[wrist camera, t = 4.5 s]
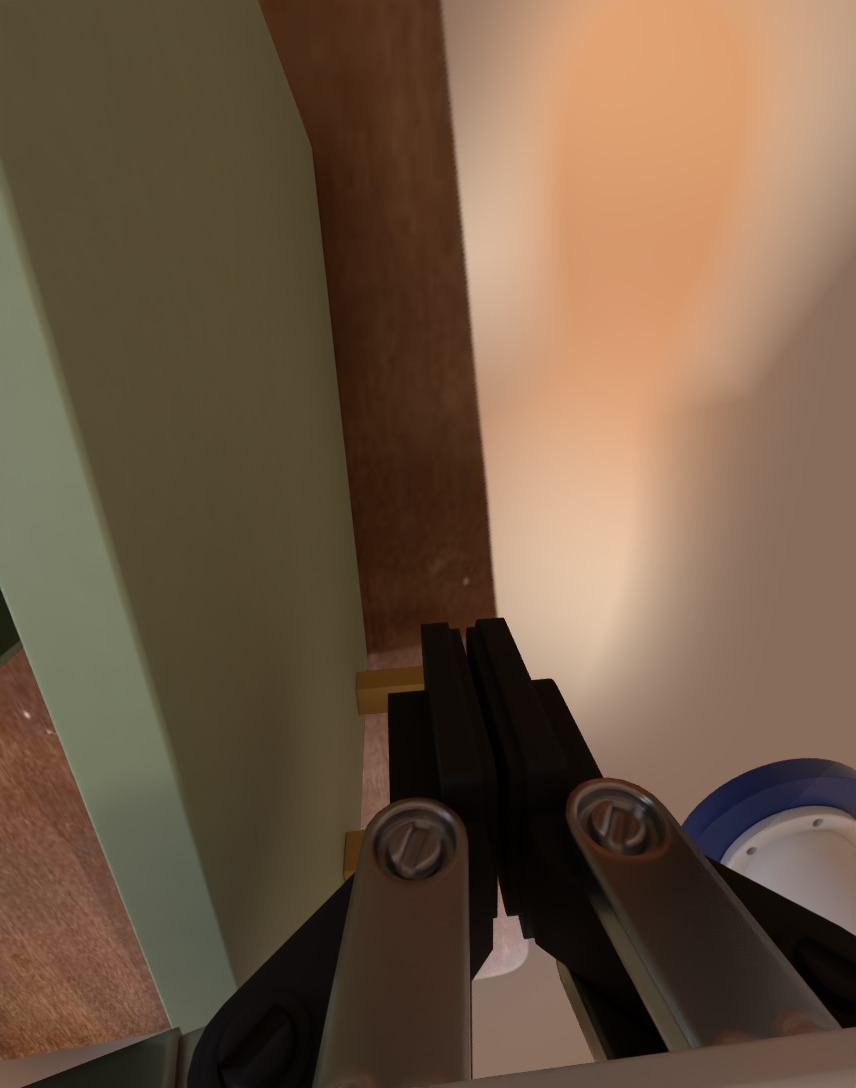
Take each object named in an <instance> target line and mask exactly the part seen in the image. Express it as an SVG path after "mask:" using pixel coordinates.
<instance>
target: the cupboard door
mask: <svg viewBox="0 0 856 1088" xmlns="http://www.w3.org/2000/svg"><path fill="white" fill-rule="evenodd" d="M0 588H1V591H2V593H3V596H4V599H5V601H6V604H7V606H8V609H9V611H10V614H11V616H12V619H13V622H14V624H15V627H16V629H17V632H18V634H19V637H20V640H21V642H22V645H23V647H24V650H25V652H26V655H27V658H28V660H29V663H30V665H31V668H32V670H33V673H34V676H35V678H36V681H37V683H38V686H39V688H40V691H41V693H42V696H43V699H44V701H45V704H46V706H47V709H48V711H49V714H50V717H51V719H52V722H53V724H54V727H55V729H56V732H57V735H58V737H59V740H60V742H61V745H62V747H63V750H64V753H65V755H66V758H67V760H68V763H69V765H70V768H71V770H72V773H73V776H74V778H75V781H76V783H77V786H78V788H79V791H80V794H81V796H82V799H83V801H84V804H85V806H86V809H87V812H88V814H89V817H90V819H91V822H92V824H93V827H94V830H95V832H96V835H97V837H98V840H99V842H100V845H101V847H102V850H103V853H104V855H105V858H106V860H107V863H108V865H109V868H110V871H111V873H112V876H113V878H114V881H115V883H116V886H117V889H118V891H119V894H120V896H121V899H122V901H123V904H124V907H125V909H126V912H127V914H128V917H129V919H130V922H131V924H132V927H133V930H134V932H135V935H136V937H137V940H138V942H139V945H140V948H141V950H142V953H143V955H144V958H145V960H146V963H147V966H148V968H149V971H150V973H151V976H152V978H153V981H154V983H155V986H156V989H157V991H158V994H159V996H160V999H161V1001H162V1004H163V1007H164V1009H165V1012H166V1014H167V1017H168V1019H169V1022H170V1025H171V1027H172V1029H174V1028H176V1027H180V1030H181V1032H182V1035H183V1034H186V1033H189V1032H191V1031H194V1030H196V1029H199V1028H201V1027H204V1026H206V1025H207V1024H208V1023H209V1022H210V1020H211V1019H212V1018H213V1017H214V1015H215V1014H216V1013H217V1012H218V1010H219V1009H220V1008H221V1007H222V1005H223V1004H224V1003H225V1002H226V1001H227V1000H228V999H229V998H230V997H231V996H232V995H233V994H234V993H235V992H236V991H237V990H238V989H239V988H240V987H241V986H242V985H243V984H244V983H245V982H246V981H247V980H248V979H249V978H250V977H251V976H252V975H253V974H254V973H255V972H256V971H257V970H258V969H259V968H260V967H261V966H262V965H263V964H264V963H265V962H266V961H267V960H268V959H269V958H270V957H271V956H272V955H273V954H274V953H275V952H276V951H277V950H278V949H279V948H280V947H281V946H282V945H283V944H284V943H285V942H286V941H287V940H288V939H289V938H290V937H291V936H292V935H293V934H294V933H295V932H296V931H297V930H298V929H299V928H300V927H301V926H302V925H303V924H304V923H305V922H306V921H307V920H308V919H309V918H310V917H311V916H312V915H313V914H314V913H315V912H316V911H317V910H318V909H319V908H320V907H321V906H322V905H323V904H324V903H325V902H326V901H327V900H328V899H329V898H330V897H331V896H332V895H333V894H334V893H335V892H336V891H337V890H338V889H339V888H340V887H341V886H342V885H343V884H344V883H345V882H346V880H347V879H348V878H349V877H350V876H351V875H352V874H353V873H354V872H355V871H356V867H357V862H358V857H359V852H360V847H361V842H362V838H363V836H364V833H365V830H360V827H361V802H362V778H363V753H364V729H365V715H366V714H377V713H387V712H388V693H397V692H408V691H419V690H424V674H423V666H419V667H408V668H397V669H386V670H375V671H367V647H366V638H365V629H364V620H363V611H362V602H361V593H360V583H359V574H358V565H357V556H356V547H355V538H354V528H353V519H352V510H351V501H350V492H349V483H348V474H347V464H346V455H345V446H344V437H343V428H342V419H341V410H340V400H339V391H338V382H337V373H336V364H335V355H334V345H333V336H332V327H331V318H330V309H329V300H328V291H327V281H326V272H325V263H324V254H323V245H322V236H321V226H320V217H319V208H318V199H317V190H316V181H315V172H314V162H313V153H312V147H311V144H310V141H309V139H308V136H307V133H306V130H305V128H304V125H303V122H302V119H301V117H300V114H299V111H298V108H297V106H296V103H295V100H294V98H293V95H292V92H291V89H290V87H289V84H288V81H287V78H286V76H285V73H284V70H283V67H282V65H281V62H280V59H279V56H278V54H277V51H276V48H275V45H274V43H273V40H272V37H271V34H270V32H269V29H268V26H267V23H266V21H265V18H264V15H263V12H262V10H261V7H260V4H259V2H258V0H0ZM498 886H500V885H499V880H498Z"/></svg>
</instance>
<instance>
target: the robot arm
mask: <svg viewBox="0 0 856 1088" xmlns="http://www.w3.org/2000/svg"><path fill="white" fill-rule="evenodd" d="M421 640H422V657H423V674H424V690H419V691H408V692H397V693H388V735H389V781H390V804H389V805H388V806H386V807H385V808H383V809H382V810H381V811H379V812H378V813H377V814H376V815H375V816H374V818H373V819H372V820H371V821H370V823H369V824H368V825H367V828H366V830H365V833H364V836H363V838H362V842H361V847H360V852H359V857H358V862H357V867H356V871H355V872H354V873H353V874H352V875H351V876H350V877H349V878H348V879H347V880H346V882H345V883H344V884H343V885H342V886H341V887H340V888H339V889H338V890H337V891H336V892H335V893H334V894H333V895H332V896H331V897H330V898H329V899H328V900H327V901H326V902H325V903H324V904H323V905H322V906H321V907H320V908H319V909H318V910H317V911H316V912H315V913H314V914H313V915H312V916H311V917H310V918H309V919H308V920H307V921H306V922H305V923H304V924H303V925H302V926H301V927H300V928H299V929H298V930H297V931H296V932H295V933H294V934H293V935H292V936H291V937H290V938H289V939H288V940H287V941H286V942H285V943H284V944H283V945H282V946H281V947H280V948H279V949H278V950H277V951H276V952H275V953H274V954H273V955H272V956H271V957H270V958H269V959H268V960H267V961H266V962H265V963H264V964H263V965H262V966H261V967H260V968H259V969H258V970H257V971H256V972H255V973H254V974H253V975H252V976H251V977H250V978H249V979H248V980H247V981H246V982H245V983H244V984H243V985H242V986H241V987H240V988H239V989H238V990H237V991H236V992H235V993H234V994H233V995H232V996H231V997H230V998H229V999H228V1000H227V1001H226V1002H225V1003H224V1004H223V1005H222V1007H221V1008H220V1009H219V1010H218V1012H217V1013H216V1014H215V1015H214V1017H213V1018H212V1019H211V1020H210V1022H209V1023H208V1024H207V1025H206V1026H204V1027H201V1028H199V1029H196V1030H194V1031H191V1032H189V1033H186V1034H183V1035H182V1032H181V1030H180V1027H176V1028H174V1029H171V1030H169V1031H166V1032H163V1033H161V1034H158V1035H156V1036H153V1037H151V1038H148V1039H145V1040H143V1041H140V1042H138V1043H135V1044H133V1045H130V1046H128V1047H125V1048H122V1049H120V1050H117V1051H115V1052H112V1053H109V1054H107V1055H104V1056H102V1057H99V1058H97V1059H94V1060H91V1061H89V1062H86V1063H84V1064H81V1065H78V1066H76V1067H73V1068H71V1069H69V1070H66V1071H63V1072H60V1073H58V1074H55V1075H53V1076H50V1077H48V1078H45V1079H43V1080H40V1081H37V1082H35V1083H32V1084H30V1085H27V1086H24V1087H22V1088H856V820H855V819H854V818H853V817H852V816H851V815H850V814H848V813H846V812H844V811H842V810H840V809H836V808H833V807H828V806H815V805H814V806H802V807H797V808H792V809H788V810H784V811H782V812H779V813H776V814H773V815H771V816H769V817H767V818H765V819H763V820H761V821H759V822H757V823H756V824H754V825H753V826H751V827H750V828H749V829H747V830H746V831H745V832H743V833H742V834H741V835H740V836H739V837H738V838H737V839H736V840H735V841H734V842H733V843H732V844H731V845H730V847H729V848H728V849H727V850H726V852H725V854H724V856H723V857H722V859H721V861H720V863H719V862H717V861H715V860H713V859H711V858H709V857H707V856H705V855H703V853H702V852H701V851H700V849H699V848H698V847H697V846H696V844H695V843H694V842H693V841H692V839H691V838H690V837H689V836H688V834H687V833H686V832H685V831H684V829H683V828H682V827H681V826H680V825H679V823H678V822H677V821H676V819H675V818H674V817H673V816H672V814H671V813H670V812H669V811H668V809H667V808H666V807H665V806H664V805H663V804H662V803H661V802H660V801H659V800H658V799H657V798H656V797H655V796H654V795H653V794H651V793H650V792H648V791H646V790H645V789H643V788H642V787H640V786H638V785H636V784H633V783H630V782H627V781H625V780H621V779H614V778H603V776H602V774H601V772H600V770H599V768H598V766H597V764H596V762H595V760H594V758H593V757H592V754H591V752H590V750H589V748H588V746H587V745H586V742H585V740H584V738H583V736H582V735H581V732H580V731H579V729H578V727H577V725H576V723H575V721H574V719H573V717H572V715H571V713H570V711H569V709H568V707H567V705H566V703H565V701H564V699H563V697H562V695H561V693H560V691H559V689H558V687H557V685H556V683H555V682H554V681H553V680H552V679H540V680H531V678H530V676H529V673H528V671H527V669H526V667H525V664H524V662H523V660H522V657H521V655H520V653H519V651H518V648H517V646H516V644H515V642H514V639H513V637H512V635H511V633H510V630H509V628H508V626H507V624H506V621H505V619H504V618H490V619H479V620H476V624H475V627H468V628H467V629H466V651H467V656H466V653H465V649H464V645H463V642H462V638H461V634H460V630H459V628H457V629H449V625H448V622H443V623H431V624H421ZM498 880H499V885H500V889H501V894H502V899H503V903H504V908H505V912H506V915H507V916H516V915H518V916H519V921H520V925H521V929H522V933H523V937H524V939H529V938H534V939H535V942H536V944H537V945H538V946H540V947H541V948H542V949H543V950H545V951H546V952H547V953H549V954H550V955H552V956H553V957H554V958H555V959H556V965H557V969H558V972H559V976H560V980H561V982H562V984H563V987H564V989H565V991H566V994H567V996H568V998H569V1001H570V1003H571V1005H572V1008H573V1011H574V1013H575V1015H576V1018H577V1020H578V1022H579V1025H580V1027H581V1030H582V1032H583V1034H584V1037H585V1039H586V1042H587V1044H588V1046H589V1049H590V1051H591V1054H592V1055H593V1058H594V1061H595V1062H594V1063H586V1064H579V1065H572V1066H565V1067H558V1068H550V1069H543V1070H536V1071H528V1072H521V1073H514V1074H507V1075H500V1076H493V1077H486V1078H479V1079H473V1046H472V1045H473V1042H472V1039H473V1038H472V980H473V979H474V977H475V976H476V974H477V973H478V971H479V970H480V968H481V966H482V965H483V963H484V962H485V960H486V959H487V957H488V956H489V954H490V953H491V951H492V950H493V918H497V908H498Z"/></svg>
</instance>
